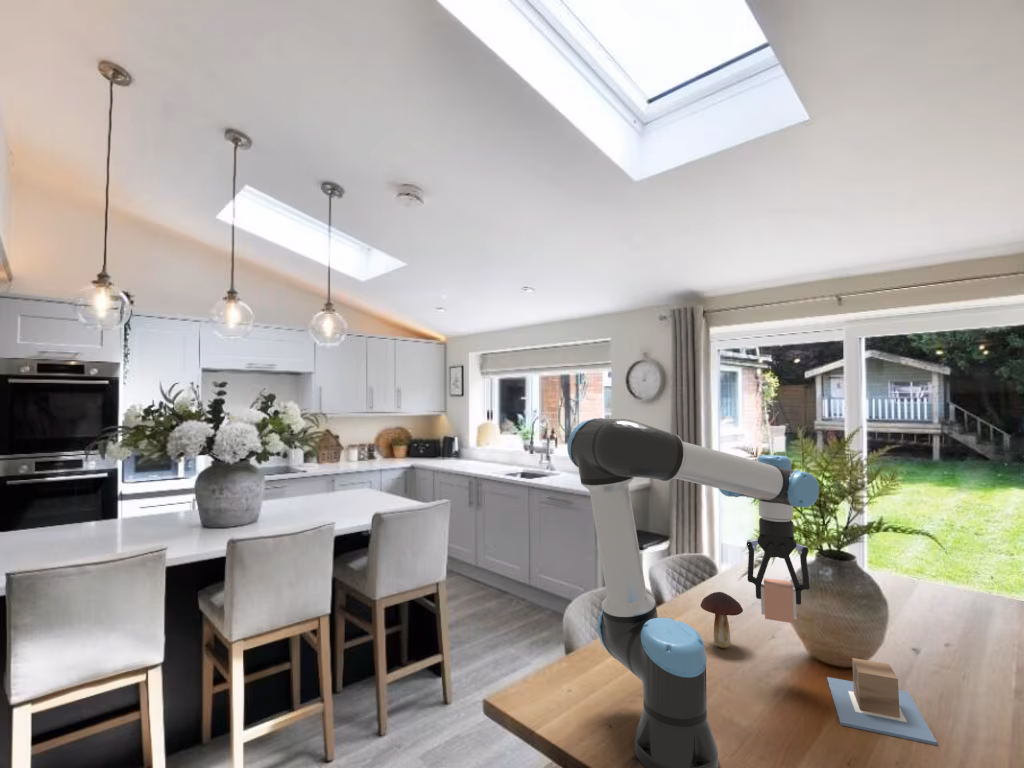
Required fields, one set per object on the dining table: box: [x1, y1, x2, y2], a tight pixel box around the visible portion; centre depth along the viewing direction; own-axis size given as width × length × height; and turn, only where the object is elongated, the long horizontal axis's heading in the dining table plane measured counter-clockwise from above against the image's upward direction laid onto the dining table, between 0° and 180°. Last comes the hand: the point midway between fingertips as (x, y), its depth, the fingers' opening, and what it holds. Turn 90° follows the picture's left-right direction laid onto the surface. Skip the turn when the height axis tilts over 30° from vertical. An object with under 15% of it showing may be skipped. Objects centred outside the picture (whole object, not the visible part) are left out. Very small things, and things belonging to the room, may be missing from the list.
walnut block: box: [851, 657, 900, 718], centre depth 111 cm, size 7×7×8 cm
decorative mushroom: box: [700, 591, 744, 649], centre depth 141 cm, size 11×11×15 cm
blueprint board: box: [826, 676, 938, 746], centre depth 111 cm, size 20×16×1 cm
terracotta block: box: [763, 577, 795, 624], centre depth 123 cm, size 6×6×8 cm
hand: (778, 614), depth 123 cm, fingers closed on terracotta block, 6 cm apart
